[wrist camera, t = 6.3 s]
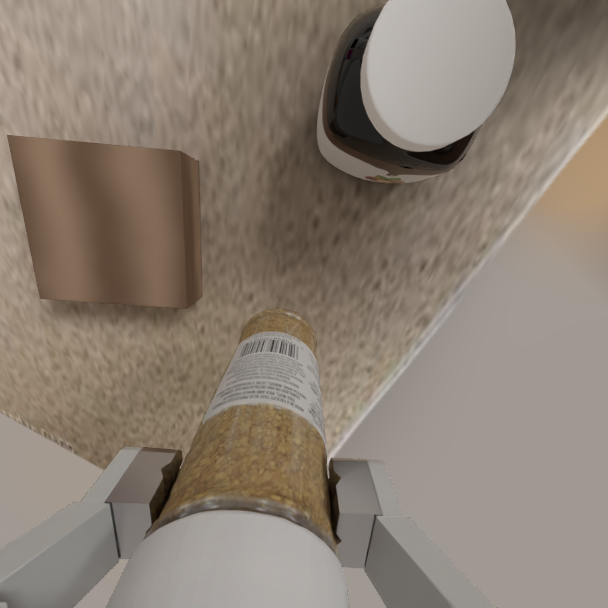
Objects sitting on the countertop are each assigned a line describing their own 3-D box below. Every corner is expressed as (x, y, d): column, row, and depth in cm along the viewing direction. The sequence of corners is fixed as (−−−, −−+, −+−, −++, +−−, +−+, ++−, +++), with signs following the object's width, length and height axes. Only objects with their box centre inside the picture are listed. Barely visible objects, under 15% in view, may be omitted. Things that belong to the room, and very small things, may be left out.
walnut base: (198, 161, 24) (180, 151, 20) (202, 295, 28) (187, 308, 24) (54, 148, 24) (7, 135, 20) (76, 287, 27) (40, 298, 23)
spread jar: (306, 167, 25) (313, 125, 13) (341, 7, 21) (388, -220, 10) (434, 201, 26) (539, 189, 14) (486, 54, 22) (671, -106, 11)
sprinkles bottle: (233, 362, 17) (44, 784, 5) (253, 295, 16) (59, 632, 3) (304, 382, 18) (307, 815, 5) (328, 319, 16) (417, 693, 4)
